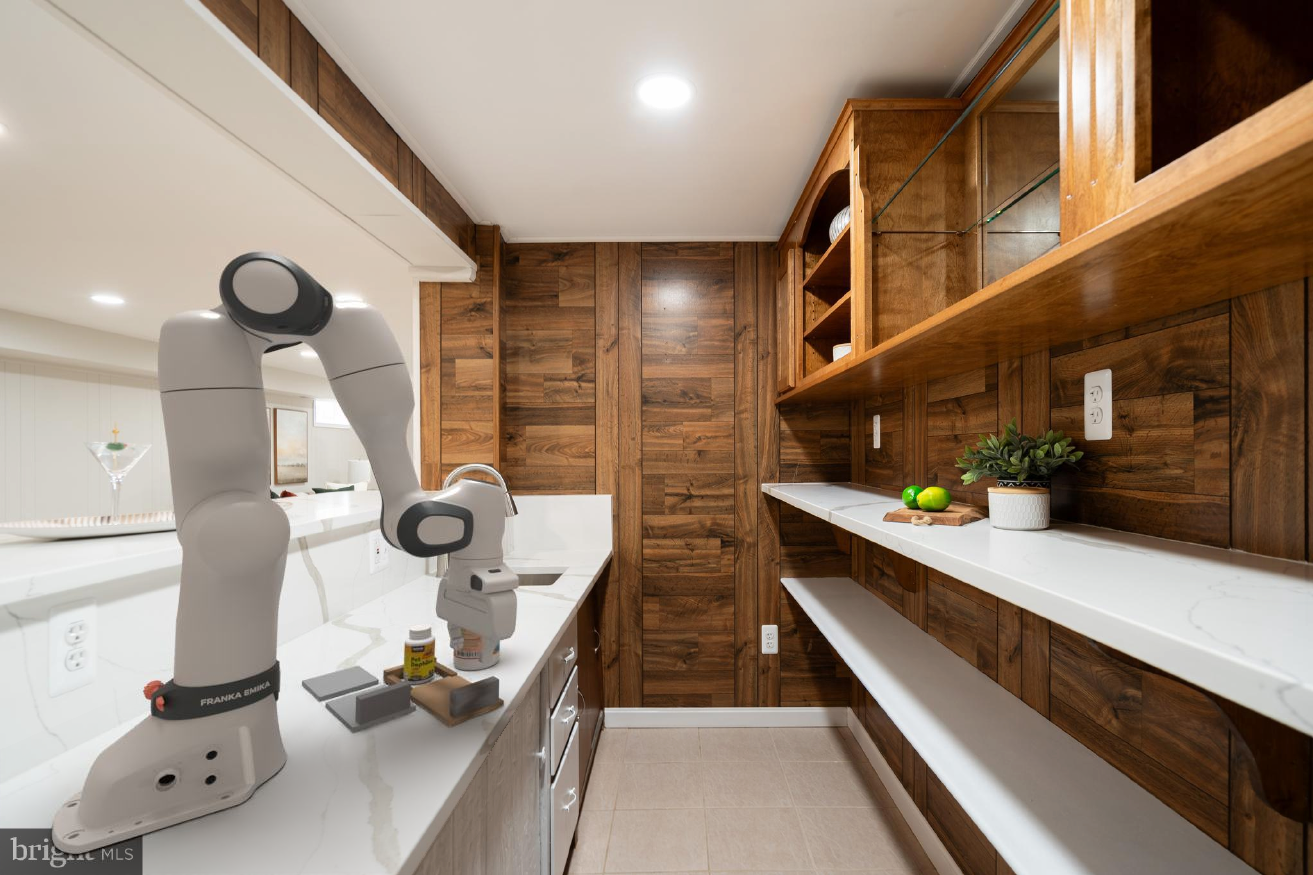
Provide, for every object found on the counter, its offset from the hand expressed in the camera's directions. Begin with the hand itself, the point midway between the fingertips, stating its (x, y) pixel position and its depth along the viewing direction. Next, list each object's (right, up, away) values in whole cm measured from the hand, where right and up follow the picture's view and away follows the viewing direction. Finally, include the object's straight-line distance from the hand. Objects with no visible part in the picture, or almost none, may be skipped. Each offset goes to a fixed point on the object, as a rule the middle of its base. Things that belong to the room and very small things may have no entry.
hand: (470, 654), depth 89 cm
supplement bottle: (-15, -11, +14) cm, 24 cm away
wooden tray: (-9, -11, +9) cm, 16 cm away
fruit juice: (-7, -11, +23) cm, 26 cm away
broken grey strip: (-24, -10, +7) cm, 27 cm away
